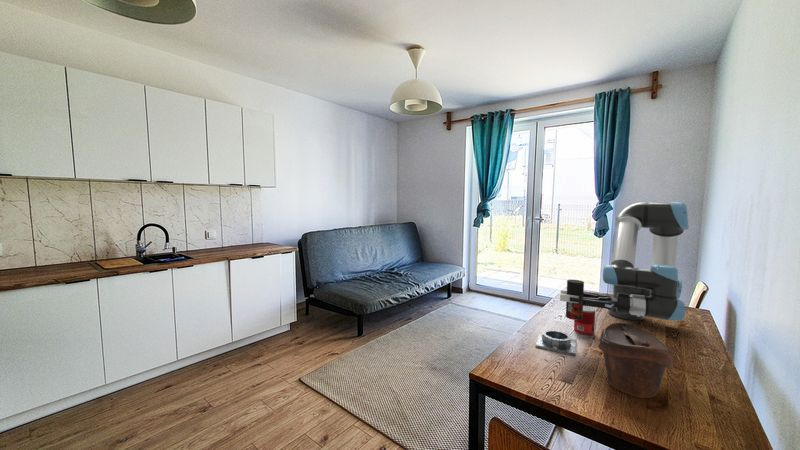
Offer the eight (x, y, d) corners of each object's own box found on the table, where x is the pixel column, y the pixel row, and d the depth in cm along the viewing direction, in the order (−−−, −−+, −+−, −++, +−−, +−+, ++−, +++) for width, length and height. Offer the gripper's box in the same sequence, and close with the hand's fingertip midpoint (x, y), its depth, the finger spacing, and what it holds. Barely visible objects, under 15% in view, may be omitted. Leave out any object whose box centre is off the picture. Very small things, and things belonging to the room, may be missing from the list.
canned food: (597, 336, 137) (598, 311, 136) (577, 334, 138) (578, 310, 138) (590, 329, 144) (591, 306, 143) (571, 327, 146) (572, 304, 145)
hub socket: (539, 334, 138) (540, 326, 137) (575, 341, 131) (576, 332, 130) (535, 347, 126) (536, 337, 125) (575, 355, 119) (575, 345, 118)
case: (651, 413, 86) (655, 350, 85) (583, 377, 104) (585, 324, 103) (686, 398, 93) (690, 340, 92) (617, 367, 111) (619, 318, 110)
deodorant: (564, 317, 126) (565, 281, 125) (567, 313, 130) (569, 278, 129) (580, 321, 122) (582, 283, 121) (583, 317, 126) (585, 281, 125)
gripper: (633, 322, 109) (559, 310, 120) (625, 306, 125) (560, 298, 137) (634, 301, 108) (559, 291, 120) (626, 288, 125) (561, 281, 136)
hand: (560, 295), depth 128 cm, fingers closed on deodorant, 6 cm apart
